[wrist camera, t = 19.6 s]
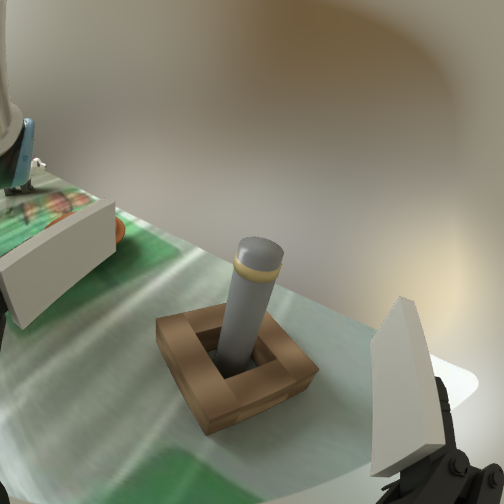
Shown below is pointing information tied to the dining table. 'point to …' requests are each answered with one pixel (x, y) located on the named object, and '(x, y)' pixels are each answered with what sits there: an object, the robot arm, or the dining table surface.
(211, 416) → the wooden square frame
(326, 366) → the dining table surface
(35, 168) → the giant panda
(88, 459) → the dining table surface
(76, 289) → the dining table surface
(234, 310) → the gray cylinder
